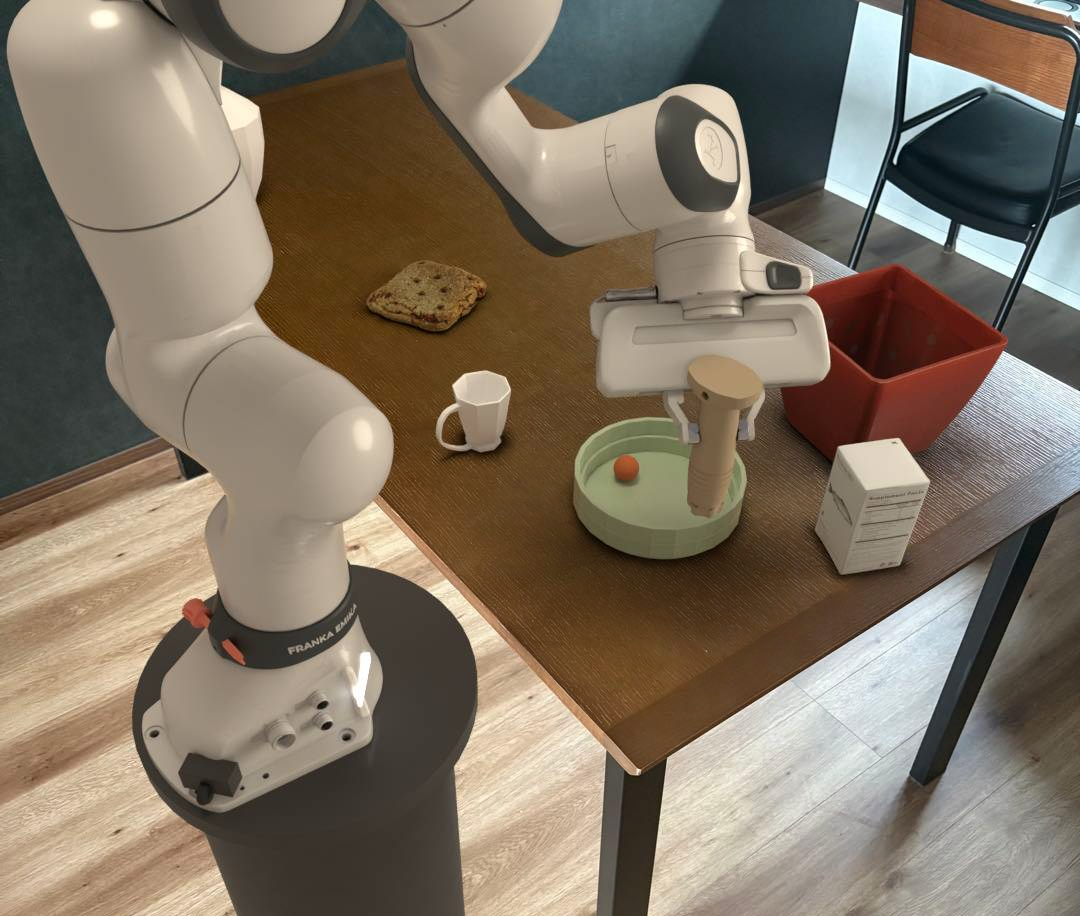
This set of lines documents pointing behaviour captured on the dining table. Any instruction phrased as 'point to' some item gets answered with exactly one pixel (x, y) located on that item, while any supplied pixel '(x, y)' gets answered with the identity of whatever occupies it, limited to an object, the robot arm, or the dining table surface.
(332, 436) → the robot arm
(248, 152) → the vase
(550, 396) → the dining table surface
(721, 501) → the handle
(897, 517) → the white packaging box
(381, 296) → the pastry
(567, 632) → the dining table surface
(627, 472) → the ball
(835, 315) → the flower pot
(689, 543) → the bowl
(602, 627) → the dining table surface
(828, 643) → the dining table surface
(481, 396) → the cup
